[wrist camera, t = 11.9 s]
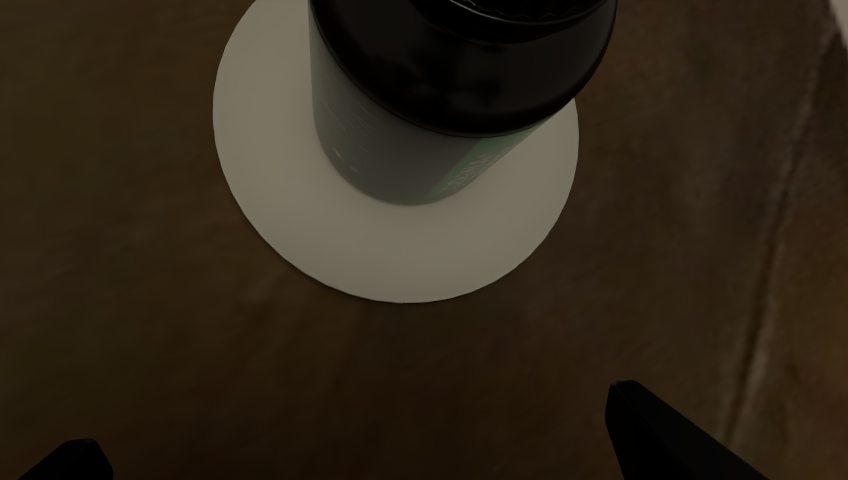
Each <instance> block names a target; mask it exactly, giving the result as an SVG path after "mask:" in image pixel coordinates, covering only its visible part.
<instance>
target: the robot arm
mask: <svg viewBox="0 0 848 480" xmlns="http://www.w3.org/2000/svg"><path fill="white" fill-rule="evenodd" d="M605 421H606V426H607V429H608V432H609V435H610V438H611V441H612V444H613V447H614V450H615V453H616V456H617V459H618V462H619V465H620V468H621V471H622V474H623V477H624V479H625V480H769V479H768V478H767V477H765V476H764V475H762V474H761V473H760V472H758V471H757V470H756V469H754V468H753V467H752V466H750V465H749V464H748V463H746V462H745V461H744V460H742V459H741V458H740V457H738V456H737V455H736V454H734V453H733V452H732V451H730V450H729V449H727V448H726V447H725V446H723V445H722V444H721V443H719V442H718V441H717V440H715V439H714V438H713V437H711V436H710V435H709V434H707V433H706V432H705V431H703V430H702V429H701V428H699V427H698V426H696V425H695V424H694V423H692V422H691V421H690V420H688V419H687V418H686V417H684V416H683V415H682V414H680V413H679V412H678V411H676V410H675V409H674V408H672V407H671V406H670V405H668V404H667V403H666V402H664V401H663V400H661V399H660V398H659V397H657V396H656V395H655V394H653V393H652V392H651V391H649V390H648V389H647V388H645V387H644V386H643V385H641V384H640V383H638V382H636V381H634V380H627V381H618V382H613V383H612V384H611V385H610V388H609V393H608V399H607V405H606V411H605ZM18 480H113V469H112V466H111V464H110V463H109V461H108V459H107V458H106V456H105V454H104V453H103V451H102V449H101V448H100V446H99V444H98V443H97V442H96V441H95V440H93V439H90V438H87V439H78V440H70V441H67V442H65V443H63V444H62V445H60V446H59V447H58V448H56V449H55V450H54V451H53V452H51V453H50V454H49V455H48V456H46V457H45V458H44V459H43V460H42V461H40V462H39V463H38V464H37V465H35V466H34V467H33V468H32V469H30V470H29V471H28V472H27V473H25V474H24V475H23V476H22V477H20V478H19V479H18Z"/></svg>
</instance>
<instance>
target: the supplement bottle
mask: <svg viewBox="0 0 848 480" xmlns="http://www.w3.org/2000/svg"><path fill="white" fill-rule="evenodd" d="M617 3H618V0H308V21H309V43H310V64H311V85H312V103H313V114H314V122H315V127H316V131H317V134H318V138H319V141H320V143H321V146H322V148H323V150H324V152H325V154H326V156H327V157H328V159H329V160H330V162H331V163H332V165H333V166H334V167H335V168H336V170H337V171H338V172H339V173H340V174H341V175H342V176H343V177H344V178H345V179H346V180H347V181H349V182H350V183H351V184H352V185H354V186H355V187H357V188H358V189H359V190H361V191H363V192H365V193H366V194H368V195H371V196H373V197H375V198H378V199H381V200H384V201H387V202H391V203H397V204H406V205H416V204H426V203H431V202H435V201H438V200H441V199H444V198H446V197H449V196H451V195H453V194H455V193H457V192H458V191H460V190H461V189H463V188H464V187H466V186H467V185H468V184H470V183H471V182H472V181H474V180H475V179H476V178H477V177H479V176H480V175H481V174H482V173H484V172H485V171H486V170H487V169H488V168H490V167H491V166H492V165H493V164H495V163H496V162H497V161H498V160H500V159H501V158H502V157H503V156H505V155H506V154H507V153H508V152H509V151H511V150H512V149H513V148H514V147H516V146H517V145H518V144H519V143H521V142H522V141H523V140H524V139H526V138H527V137H528V136H529V135H530V134H532V133H533V132H534V131H535V130H537V129H538V128H539V127H540V126H542V125H543V124H544V123H545V122H546V121H548V120H549V119H550V118H551V117H553V116H554V115H555V114H556V113H558V112H559V111H560V110H561V109H562V108H564V107H565V106H566V105H567V104H568V103H569V102H570V101H571V100H572V99H573V98H574V97H575V96H576V95H577V94H578V93H579V92H580V91H581V90H582V89H583V88H584V86H585V85H586V84H587V83H588V81H589V80H590V79H591V77H592V76H593V74H594V73H595V71H596V69H597V68H598V66H599V64H600V63H601V61H602V58H603V56H604V54H605V52H606V50H607V47H608V44H609V41H610V38H611V35H612V31H613V27H614V23H615V18H616V11H617Z"/></svg>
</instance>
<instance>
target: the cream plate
mask: <svg viewBox="0 0 848 480" xmlns="http://www.w3.org/2000/svg"><path fill="white" fill-rule="evenodd" d="M213 125H214V134H215V143H216V147H217V151H218V155H219V159H220V163H221V166H222V170H223V172H224V175H225V177H226V179H227V182H228V184H229V187H230V189H231V191H232V194H233V195H234V197H235V199H236V200H237V202H238V204H239V206H240V207H241V209H242V211H243V212H244V214H245V216H246V217H247V218H248V220H249V221H250V222H251V223H252V225H253V226H254V227H255V229H256V230H257V231H258V232H259V234H260V235H261V236H262V237H263V238H264V240H265V241H266V242H267V243H268V244H270V245H271V246H272V247H273V248H274V249H275V250H276V251H277V252H278V253H279V254H280V255H281V256H282V257H283V258H284V259H285V260H287V261H288V262H289V263H291V264H292V265H294V266H295V267H296V268H298V269H299V270H300V271H302V272H303V273H305V274H306V275H308V276H310V277H312V278H314V279H315V280H317V281H319V282H321V283H323V284H324V285H326V286H329V287H331V288H334V289H337V290H339V291H342V292H344V293H347V294H350V295H354V296H358V297H362V298H366V299H370V300H375V301H384V302H393V303H414V302H430V301H437V300H443V299H449V298H453V297H456V296H459V295H463V294H466V293H469V292H473V291H475V290H477V289H479V288H481V287H483V286H486V285H488V284H490V283H492V282H494V281H496V280H497V279H499V278H500V277H502V276H504V275H505V274H507V273H508V272H510V271H511V270H513V269H514V268H515V267H516V266H518V265H519V264H520V263H521V262H522V261H523V260H525V259H526V258H527V257H528V256H529V255H530V254H531V253H532V252H533V251H534V250H535V249H536V248H537V247H538V245H539V244H540V243H541V242H542V241H543V240H544V239H545V237H546V236H547V234H548V233H549V231H550V230H551V228H552V227H553V225H554V224H555V222H556V221H557V219H558V217H559V215H560V213H561V211H562V209H563V207H564V205H565V203H566V201H567V198H568V195H569V192H570V189H571V186H572V183H573V179H574V174H575V169H576V164H577V158H578V141H579V133H578V118H577V111H576V106H575V100H574V98H573V99H572V100H571V101H570V102H569V103H568V104H567V105H566V106H565V107H564V108H562V109H561V110H560V111H559V112H558V113H556V114H555V115H554V116H553V117H551V118H550V119H549V120H548V121H546V122H545V123H544V124H543V125H542V126H540V127H539V128H538V129H537V130H535V131H534V132H533V133H532V134H530V135H529V136H528V137H527V138H526V139H524V140H523V141H522V142H521V143H519V144H518V145H517V146H516V147H514V148H513V149H512V150H511V151H509V152H508V153H507V154H506V155H505V156H503V157H502V158H501V159H500V160H498V161H497V162H496V163H495V164H493V165H492V166H491V167H490V168H488V169H487V170H486V171H485V172H484V173H482V174H481V175H480V176H479V177H477V178H476V179H475V180H474V181H472V182H471V183H470V184H468V185H467V186H466V187H464V188H463V189H461V190H460V191H458V192H457V193H455V194H453V195H451V196H449V197H446V198H444V199H441V200H438V201H435V202H431V203H426V204H416V205H406V204H397V203H391V202H387V201H384V200H381V199H378V198H375V197H373V196H371V195H368V194H366V193H365V192H363V191H361V190H359V189H358V188H357V187H355V186H354V185H352V184H351V183H350V182H349V181H347V180H346V179H345V178H344V177H343V176H342V175H341V174H340V173H339V172H338V171H337V170H336V168H335V167H334V166H333V165H332V163H331V162H330V160H329V159H328V157H327V156H326V154H325V152H324V150H323V148H322V146H321V143H320V141H319V138H318V134H317V131H316V127H315V122H314V114H313V103H312V85H311V64H310V43H309V21H308V0H256V1H255V2H254V3H253V4H252V5H251V6H250V8H249V9H248V10H247V12H246V13H245V15H244V16H243V17H242V19H241V20H240V22H239V23H238V24H237V26H236V28H235V30H234V32H233V34H232V36H231V38H230V39H229V41H228V43H227V45H226V48H225V50H224V53H223V56H222V59H221V62H220V65H219V68H218V72H217V78H216V83H215V89H214V98H213Z"/></svg>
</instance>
